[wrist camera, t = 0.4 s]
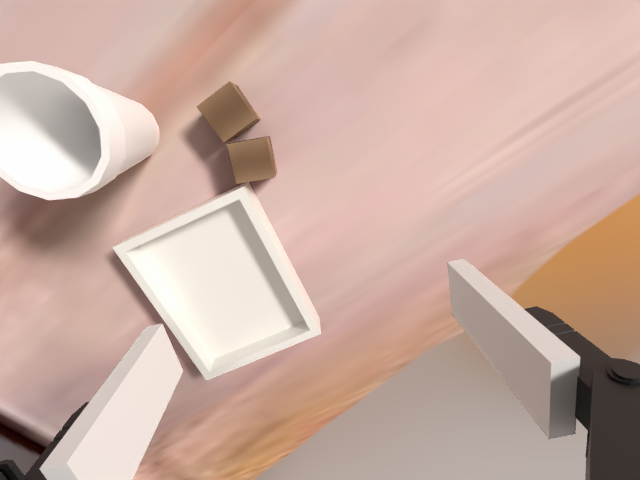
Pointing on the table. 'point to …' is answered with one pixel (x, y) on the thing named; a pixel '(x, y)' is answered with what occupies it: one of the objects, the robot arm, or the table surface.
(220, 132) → the walnut block
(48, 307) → the table surface
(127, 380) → the robot arm
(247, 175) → the walnut block
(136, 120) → the foam cup
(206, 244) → the tray
